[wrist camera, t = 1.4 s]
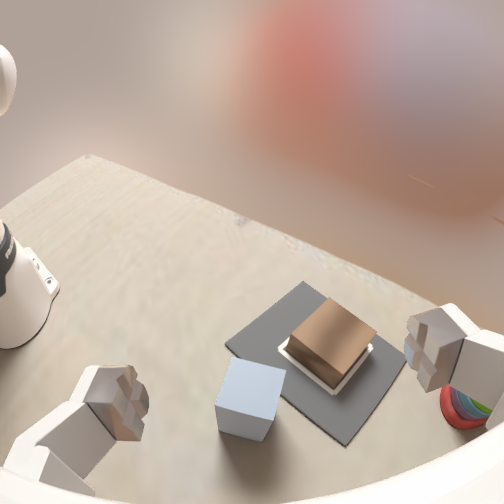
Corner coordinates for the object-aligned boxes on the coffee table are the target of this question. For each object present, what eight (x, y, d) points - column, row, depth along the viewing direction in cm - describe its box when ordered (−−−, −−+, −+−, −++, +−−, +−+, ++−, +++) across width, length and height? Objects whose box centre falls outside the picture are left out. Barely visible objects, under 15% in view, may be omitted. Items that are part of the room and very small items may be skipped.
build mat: (224, 344, 38) (224, 342, 38) (302, 282, 47) (303, 280, 46) (344, 446, 28) (345, 445, 28) (406, 358, 37) (408, 356, 37)
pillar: (218, 430, 29) (214, 405, 23) (231, 393, 33) (232, 356, 26) (261, 442, 29) (273, 420, 22) (272, 404, 32) (286, 370, 26)
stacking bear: (495, 412, 29) (576, 348, 17) (456, 446, 26) (554, 387, 14) (466, 360, 36) (535, 284, 24) (425, 385, 34) (505, 307, 22)
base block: (285, 349, 38) (290, 333, 35) (322, 314, 42) (329, 297, 39) (333, 387, 34) (343, 374, 31) (366, 347, 38) (377, 331, 35)
